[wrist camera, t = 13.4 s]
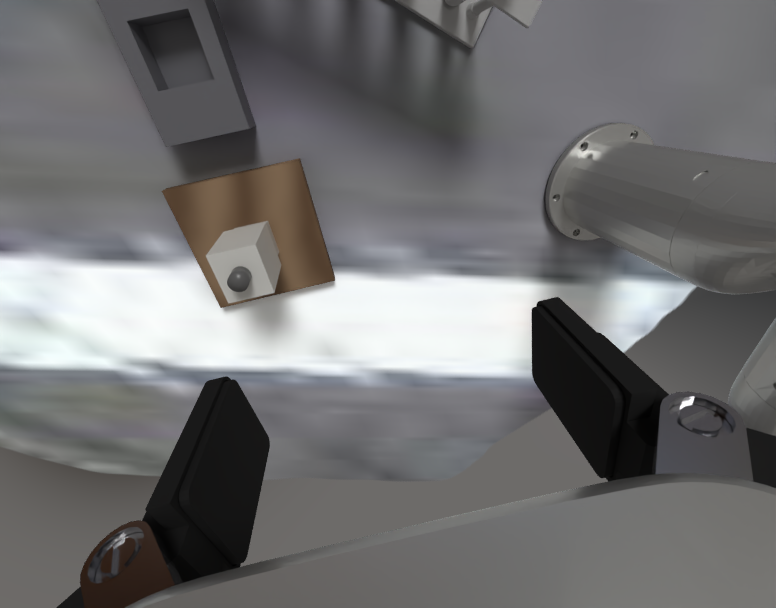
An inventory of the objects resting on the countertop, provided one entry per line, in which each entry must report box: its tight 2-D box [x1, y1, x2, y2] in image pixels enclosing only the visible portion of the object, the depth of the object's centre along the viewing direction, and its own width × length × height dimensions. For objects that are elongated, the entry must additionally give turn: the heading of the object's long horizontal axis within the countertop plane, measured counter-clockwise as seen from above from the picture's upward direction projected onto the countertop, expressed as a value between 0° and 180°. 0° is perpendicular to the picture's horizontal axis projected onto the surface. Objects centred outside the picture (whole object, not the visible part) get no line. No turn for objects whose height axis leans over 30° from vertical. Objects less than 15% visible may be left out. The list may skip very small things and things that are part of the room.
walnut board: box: [162, 158, 335, 308], centre depth 38 cm, size 13×13×1 cm
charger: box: [206, 221, 281, 304], centre depth 33 cm, size 4×4×10 cm
